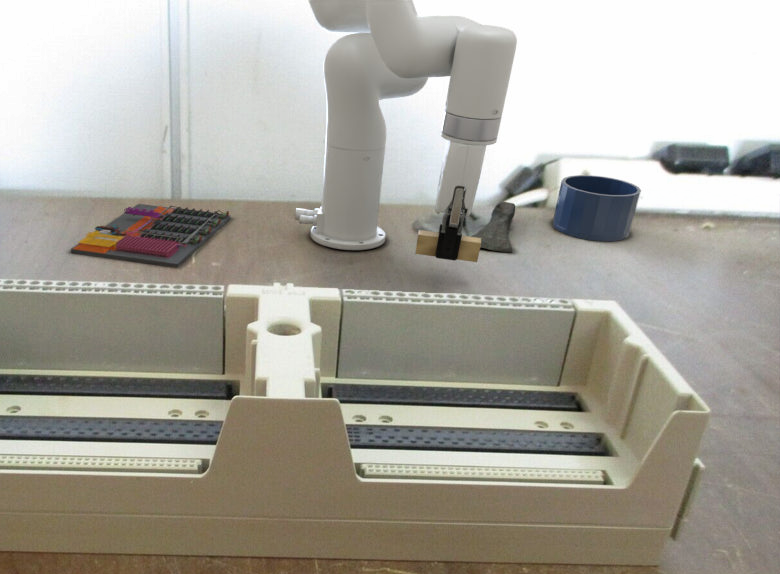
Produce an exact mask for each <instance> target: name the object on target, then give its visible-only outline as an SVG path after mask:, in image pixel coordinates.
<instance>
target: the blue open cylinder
mask: <svg viewBox="0 0 780 574" xmlns="http://www.w3.org/2000/svg"><path fill="white" fill-rule="evenodd" d="M641 193H642V189H640V187H639V186H638V185H636V184H634V183H631V182H629V181H626V180H623V179H618V178H613V177H608V176H601V175H591V174H586V175H585V174H576V175H569V176H565V177H563V178H562V179H561V182H560V187H559V190H558V196H557V200H556V205H555V208H554V214H553V218H552V219H553V220H552V226H553V228H554V229H555V230H557V231H558V232H560V233H563V234H565V235H568V236H570V237H573V238H578V239H580V240H581V239H582V240H588V241H595V242H618V241H622V240H625V239H627V238H628V237H629V236H630V232H631V229H632V225H633V223H634V219H635V215H636V211H637V207H638V204H639V201H640V197H641Z"/></svg>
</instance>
